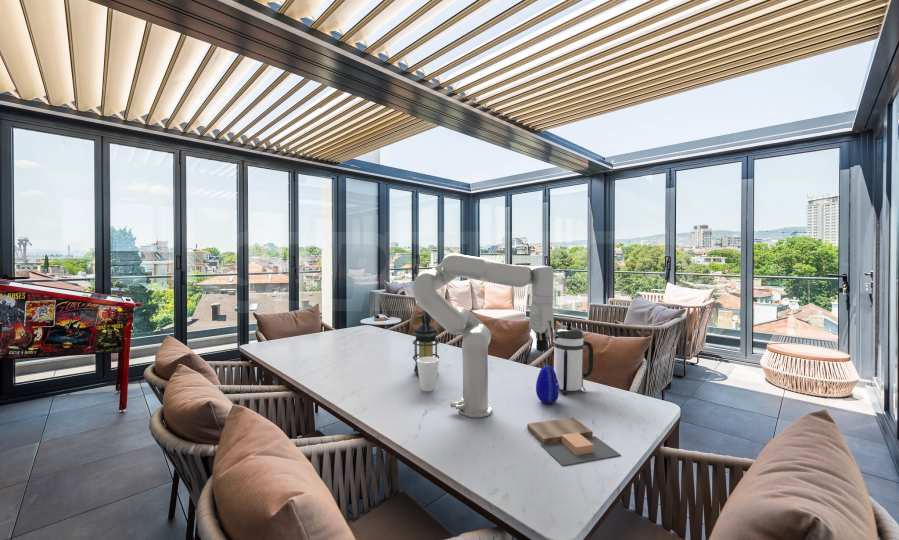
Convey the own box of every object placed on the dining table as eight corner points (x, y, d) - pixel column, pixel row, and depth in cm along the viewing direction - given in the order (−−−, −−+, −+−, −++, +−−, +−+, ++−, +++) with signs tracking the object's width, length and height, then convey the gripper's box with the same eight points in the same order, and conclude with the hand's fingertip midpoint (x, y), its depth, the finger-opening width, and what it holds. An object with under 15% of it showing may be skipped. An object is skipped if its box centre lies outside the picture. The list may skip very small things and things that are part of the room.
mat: (562, 466, 110) (562, 465, 110) (540, 445, 122) (541, 444, 122) (620, 455, 116) (620, 454, 116) (595, 436, 127) (595, 436, 127)
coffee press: (583, 399, 159) (585, 327, 157) (545, 391, 167) (546, 323, 166) (592, 386, 174) (594, 320, 172) (557, 380, 182) (558, 317, 180)
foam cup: (413, 390, 168) (413, 361, 168) (422, 383, 177) (422, 355, 176) (433, 393, 165) (433, 363, 164) (441, 386, 173) (441, 358, 173)
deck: (543, 445, 122) (543, 438, 122) (527, 429, 132) (527, 423, 132) (592, 437, 127) (592, 431, 127) (572, 422, 138) (572, 417, 137)
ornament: (560, 408, 150) (560, 370, 149) (535, 406, 152) (536, 369, 151) (558, 397, 161) (558, 362, 160) (535, 396, 162) (536, 361, 162)
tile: (576, 455, 115) (576, 447, 115) (561, 442, 123) (561, 434, 123) (593, 452, 117) (593, 444, 117) (577, 439, 125) (578, 432, 125)
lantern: (438, 378, 185) (438, 305, 183) (411, 377, 185) (410, 305, 183) (439, 368, 199) (439, 301, 197) (414, 368, 199) (414, 301, 197)
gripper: (523, 297, 145) (522, 346, 146) (543, 303, 131) (542, 356, 132) (540, 297, 148) (540, 344, 149) (563, 302, 133) (562, 355, 134)
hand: (541, 350), depth 140 cm, fingers closed
